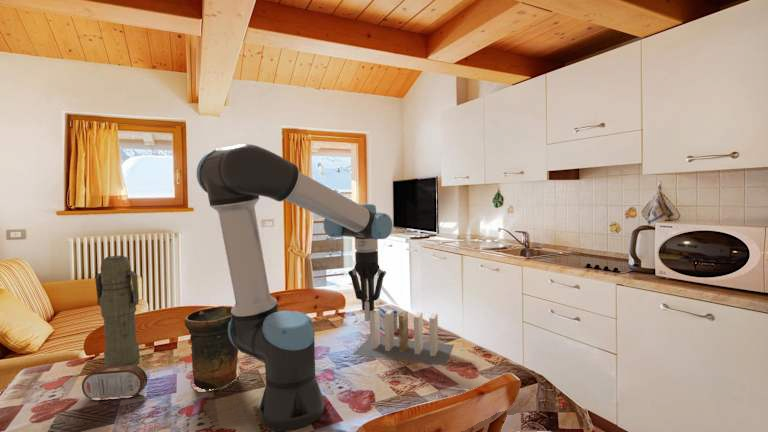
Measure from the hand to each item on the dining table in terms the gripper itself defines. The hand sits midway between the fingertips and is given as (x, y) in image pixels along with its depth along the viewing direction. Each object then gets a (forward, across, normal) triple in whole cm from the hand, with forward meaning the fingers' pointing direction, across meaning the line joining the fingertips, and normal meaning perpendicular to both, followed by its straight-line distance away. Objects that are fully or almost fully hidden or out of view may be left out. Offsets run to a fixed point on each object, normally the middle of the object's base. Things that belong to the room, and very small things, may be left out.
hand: (368, 319), depth 134 cm
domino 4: (+9, +22, 0) cm, 24 cm away
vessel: (+10, -34, -34) cm, 49 cm away
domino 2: (+9, +7, 0) cm, 12 cm away
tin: (+10, -53, -49) cm, 73 cm away
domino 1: (+9, +2, 0) cm, 9 cm away
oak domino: (+9, +12, 0) cm, 15 cm away
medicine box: (+10, +1, +16) cm, 19 cm away
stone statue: (+10, -68, -35) cm, 77 cm away
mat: (+9, +12, 0) cm, 15 cm away
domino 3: (+9, +17, 0) cm, 19 cm away
